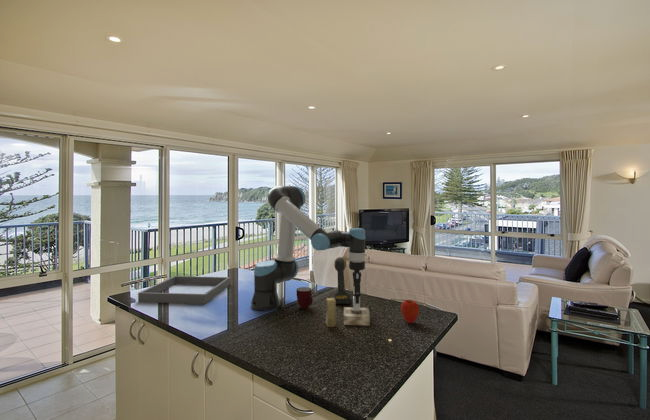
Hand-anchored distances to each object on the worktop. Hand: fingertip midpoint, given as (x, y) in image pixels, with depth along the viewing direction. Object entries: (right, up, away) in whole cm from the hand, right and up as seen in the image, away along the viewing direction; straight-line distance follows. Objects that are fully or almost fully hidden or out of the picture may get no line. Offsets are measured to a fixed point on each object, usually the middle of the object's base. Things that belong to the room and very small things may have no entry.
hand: (356, 305), depth 153 cm
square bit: (-12, -8, -6) cm, 16 cm away
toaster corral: (-98, -5, +41) cm, 106 cm away
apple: (+25, -8, -3) cm, 26 cm away
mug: (-25, -7, +16) cm, 30 cm away
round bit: (0, -7, 0) cm, 7 cm away
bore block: (0, -7, 0) cm, 7 cm away
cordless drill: (-5, -6, +30) cm, 31 cm away
